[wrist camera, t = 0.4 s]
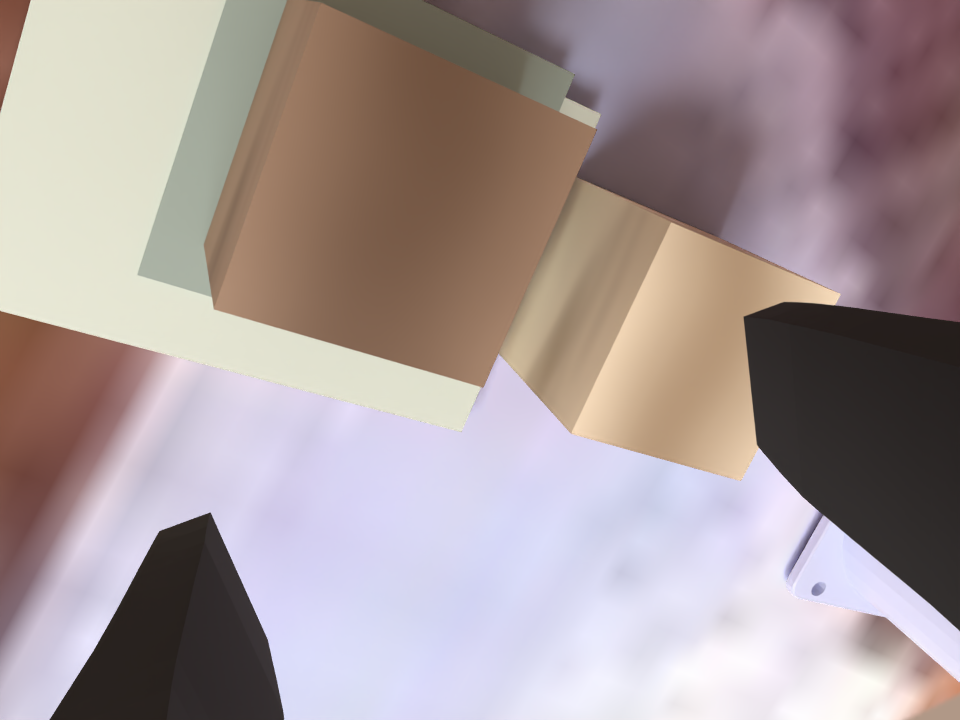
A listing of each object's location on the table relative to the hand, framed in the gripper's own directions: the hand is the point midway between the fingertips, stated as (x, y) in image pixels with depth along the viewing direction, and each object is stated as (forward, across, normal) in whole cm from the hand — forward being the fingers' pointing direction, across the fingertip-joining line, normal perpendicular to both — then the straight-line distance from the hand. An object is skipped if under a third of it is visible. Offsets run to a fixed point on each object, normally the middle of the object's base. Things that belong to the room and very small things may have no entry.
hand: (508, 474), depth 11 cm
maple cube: (+10, -6, +3) cm, 11 cm away
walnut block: (+9, 0, -2) cm, 9 cm away
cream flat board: (+9, +1, -2) cm, 10 cm away
